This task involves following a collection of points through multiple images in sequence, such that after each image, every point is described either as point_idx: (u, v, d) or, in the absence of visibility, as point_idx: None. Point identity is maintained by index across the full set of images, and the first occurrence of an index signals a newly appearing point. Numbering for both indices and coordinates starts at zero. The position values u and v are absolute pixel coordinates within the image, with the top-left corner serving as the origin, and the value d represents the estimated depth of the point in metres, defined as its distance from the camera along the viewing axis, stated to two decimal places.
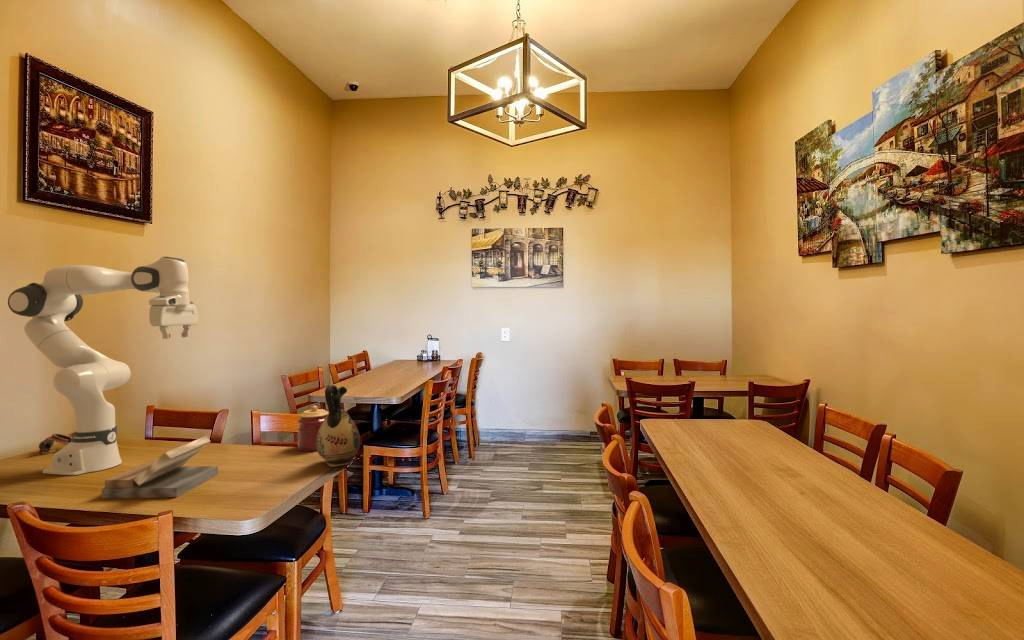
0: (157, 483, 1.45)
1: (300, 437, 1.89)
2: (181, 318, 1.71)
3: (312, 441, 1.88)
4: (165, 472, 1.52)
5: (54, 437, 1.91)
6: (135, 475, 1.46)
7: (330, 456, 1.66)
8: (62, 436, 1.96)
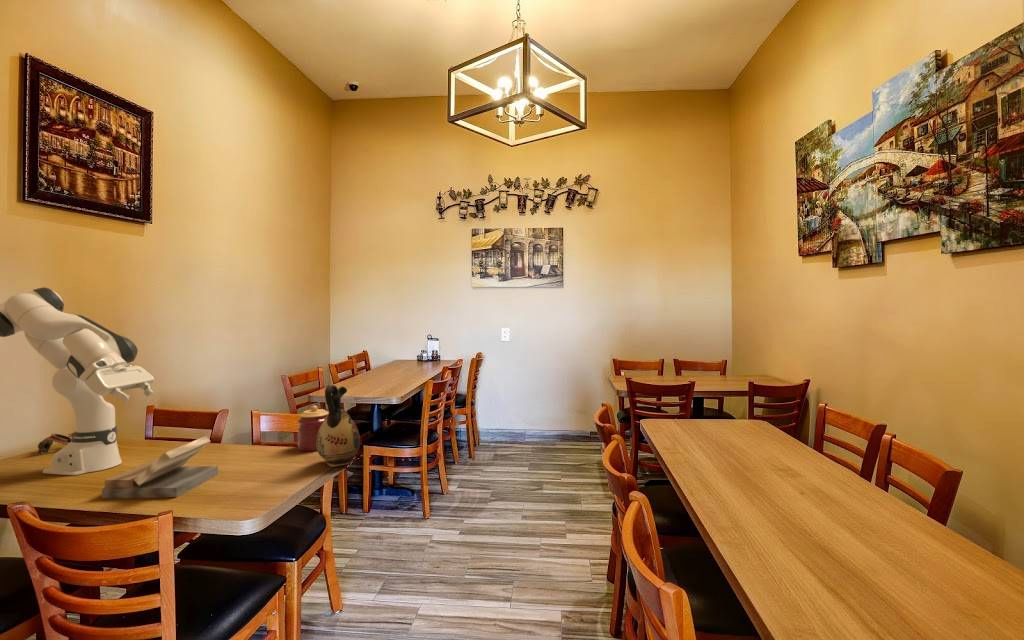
0: (157, 483, 1.45)
1: (300, 437, 1.89)
2: (129, 377, 1.52)
3: (312, 441, 1.88)
4: (165, 472, 1.52)
5: (53, 437, 1.91)
6: (135, 475, 1.46)
7: (330, 456, 1.66)
8: (61, 436, 1.96)
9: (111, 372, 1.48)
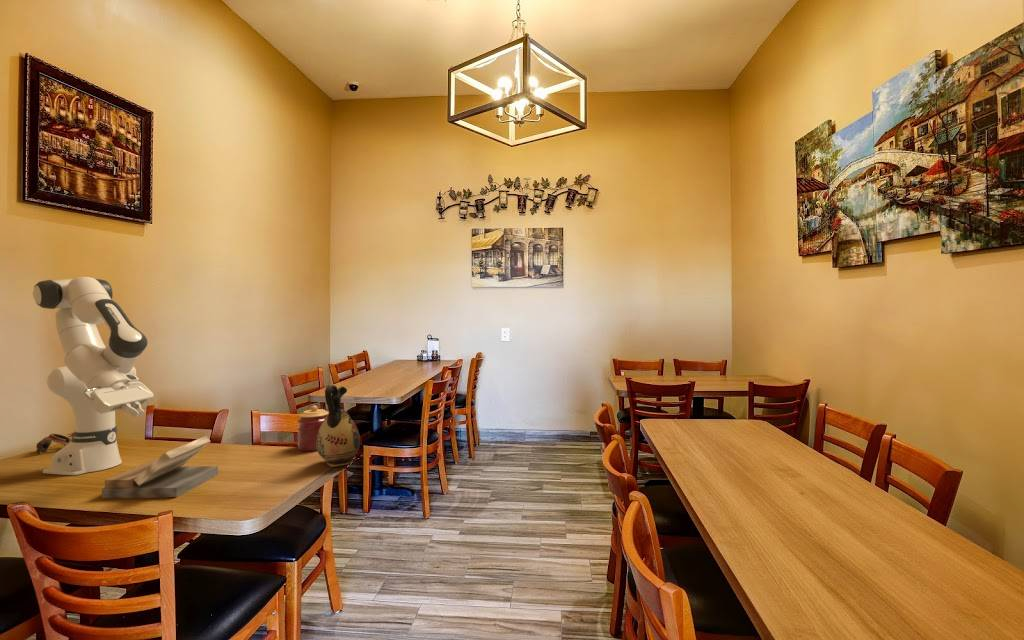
0: (157, 483, 1.45)
1: (300, 437, 1.89)
2: None
3: (312, 441, 1.88)
4: (165, 472, 1.52)
5: (52, 437, 1.91)
6: (135, 475, 1.46)
7: (330, 456, 1.66)
8: (59, 436, 1.97)
9: None
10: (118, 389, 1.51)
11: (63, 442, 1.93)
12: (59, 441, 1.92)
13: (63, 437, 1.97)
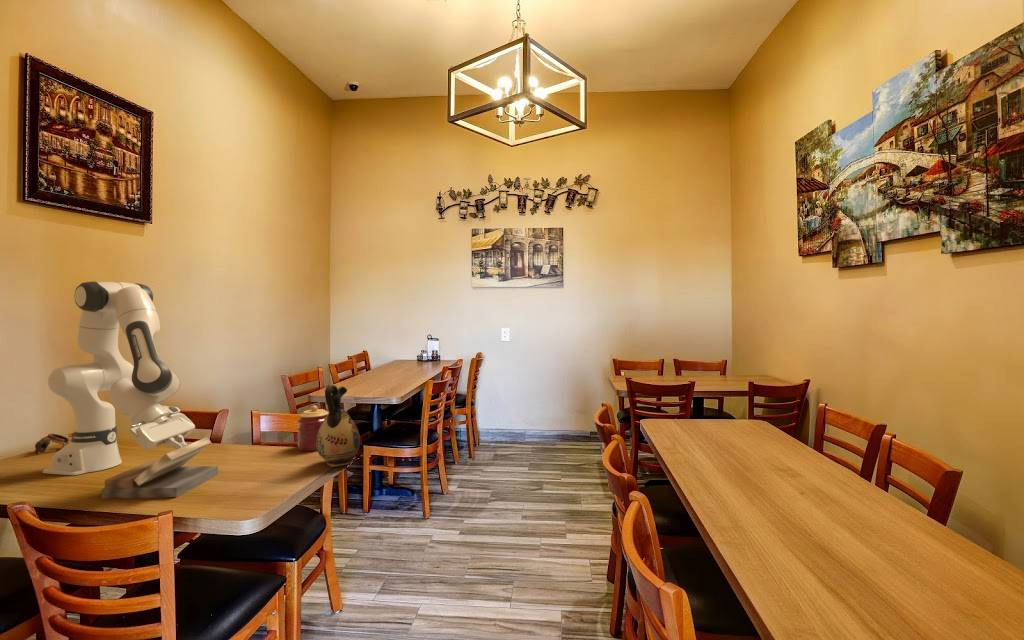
0: (157, 483, 1.45)
1: (300, 437, 1.89)
2: None
3: (312, 441, 1.88)
4: (165, 472, 1.52)
5: (50, 437, 1.91)
6: (135, 475, 1.46)
7: (330, 456, 1.66)
8: (58, 436, 1.97)
9: None
10: (161, 423, 1.51)
11: (62, 442, 1.93)
12: (58, 441, 1.92)
13: (61, 437, 1.97)
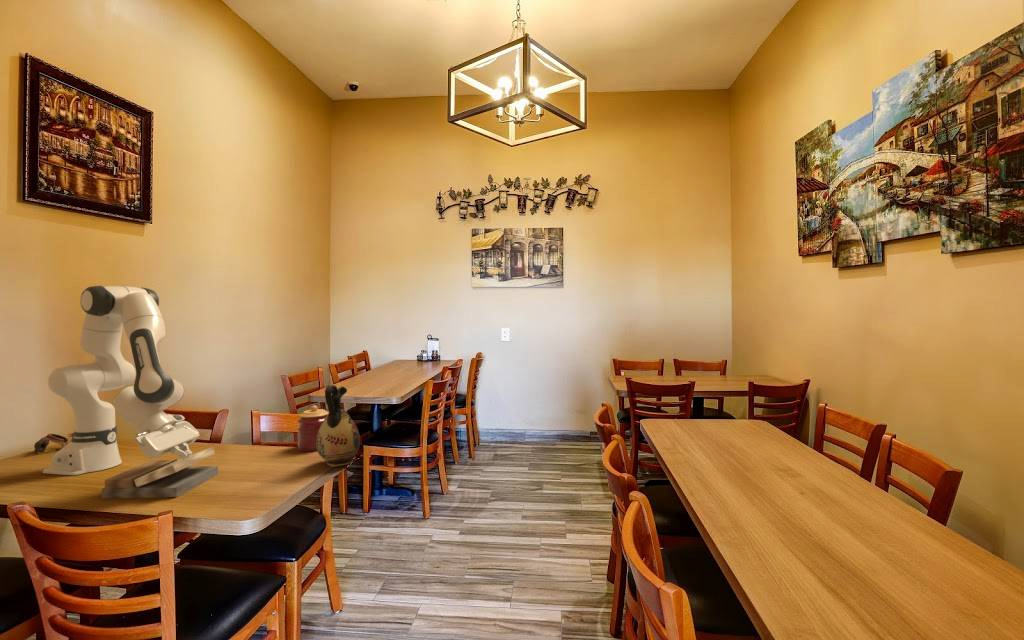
0: (157, 483, 1.45)
1: (300, 437, 1.89)
2: None
3: (312, 441, 1.88)
4: None
5: (49, 437, 1.91)
6: (135, 475, 1.46)
7: (330, 456, 1.66)
8: (57, 436, 1.97)
9: None
10: (166, 431, 1.51)
11: (61, 442, 1.93)
12: (57, 441, 1.92)
13: (61, 437, 1.97)
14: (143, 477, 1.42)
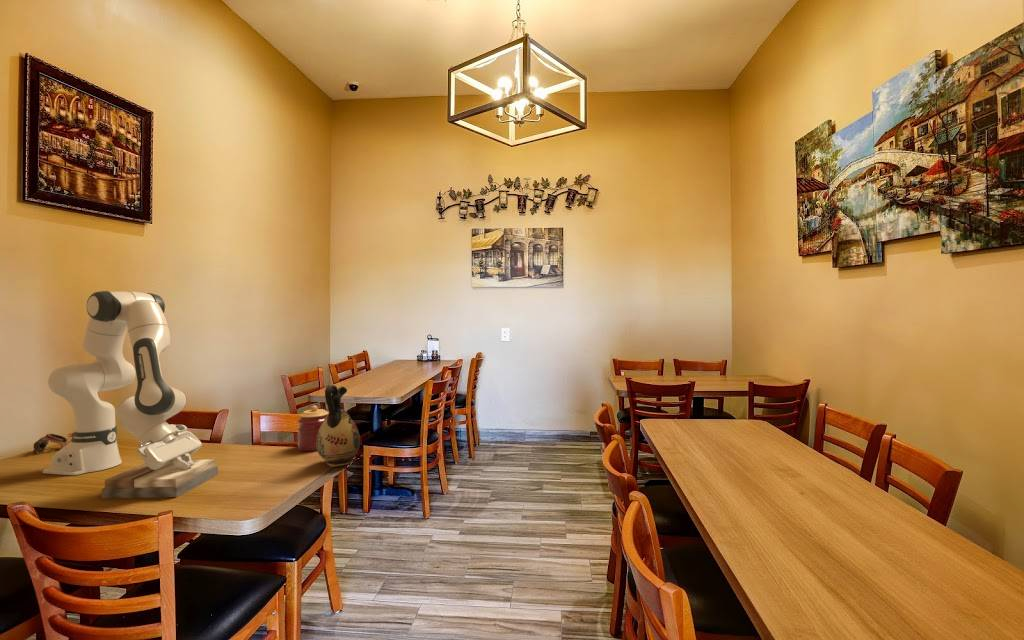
0: None
1: (300, 437, 1.89)
2: None
3: (312, 441, 1.88)
4: None
5: (48, 437, 1.91)
6: (135, 475, 1.46)
7: (330, 456, 1.66)
8: (56, 436, 1.97)
9: None
10: (169, 442, 1.51)
11: (60, 442, 1.93)
12: (56, 441, 1.92)
13: (60, 437, 1.97)
14: (143, 480, 1.42)
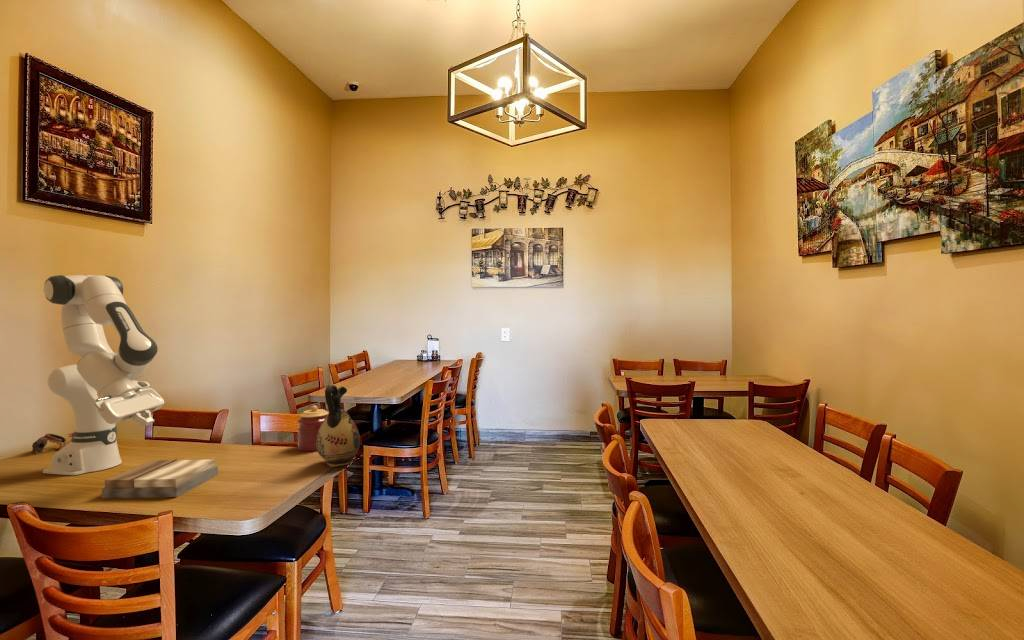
0: None
1: (300, 437, 1.89)
2: None
3: (312, 441, 1.88)
4: None
5: (47, 437, 1.92)
6: (135, 475, 1.46)
7: (330, 456, 1.66)
8: (55, 436, 1.97)
9: None
10: (129, 398, 1.50)
11: (59, 442, 1.93)
12: (55, 441, 1.92)
13: (58, 437, 1.98)
14: (143, 480, 1.42)
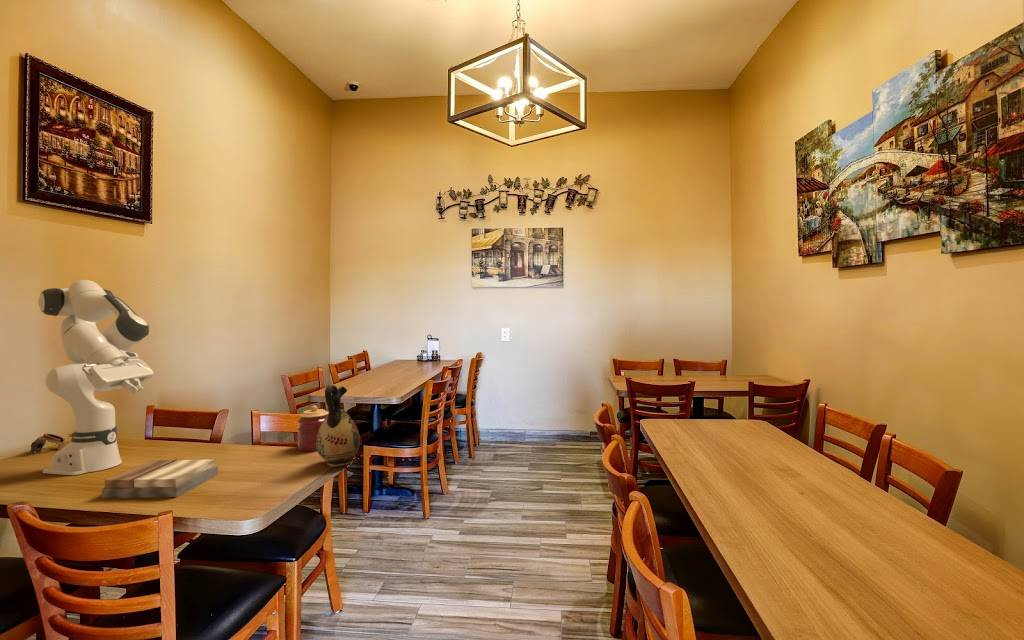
0: None
1: (300, 437, 1.89)
2: None
3: (312, 441, 1.88)
4: None
5: (46, 437, 1.92)
6: (135, 475, 1.46)
7: (330, 456, 1.66)
8: (53, 436, 1.97)
9: None
10: (117, 366, 1.50)
11: (57, 442, 1.93)
12: (53, 441, 1.92)
13: (57, 437, 1.98)
14: (143, 480, 1.42)
